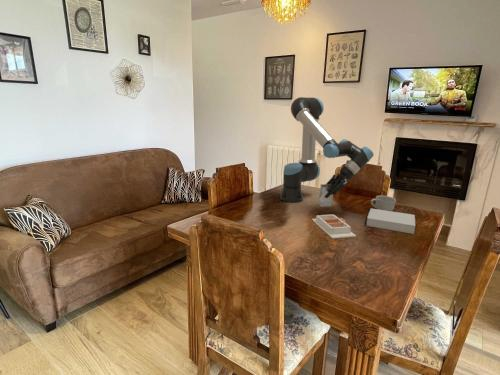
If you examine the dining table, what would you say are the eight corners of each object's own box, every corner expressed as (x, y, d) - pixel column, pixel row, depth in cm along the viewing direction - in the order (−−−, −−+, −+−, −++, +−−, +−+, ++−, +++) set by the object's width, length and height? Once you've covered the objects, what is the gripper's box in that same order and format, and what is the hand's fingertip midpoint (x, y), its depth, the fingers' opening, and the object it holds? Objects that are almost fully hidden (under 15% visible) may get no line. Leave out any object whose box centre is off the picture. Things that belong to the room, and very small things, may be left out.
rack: (332, 238, 136) (333, 230, 135) (311, 219, 159) (312, 212, 158) (355, 236, 139) (356, 228, 138) (332, 218, 161) (332, 211, 160)
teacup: (390, 208, 179) (392, 195, 177) (397, 214, 168) (399, 201, 166) (366, 207, 180) (368, 194, 178) (371, 213, 170) (373, 200, 167)
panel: (321, 206, 164) (323, 186, 161) (318, 204, 167) (320, 184, 164) (331, 206, 165) (333, 185, 162) (328, 204, 168) (330, 184, 165)
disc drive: (368, 215, 167) (369, 207, 166) (413, 222, 157) (414, 214, 156) (364, 226, 152) (365, 217, 151) (413, 235, 142) (415, 225, 141)
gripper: (361, 178, 157) (329, 209, 158) (345, 171, 172) (317, 199, 173) (353, 168, 154) (321, 200, 156) (338, 162, 169) (309, 191, 171)
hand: (319, 200), depth 164 cm, fingers closed on panel, 3 cm apart
